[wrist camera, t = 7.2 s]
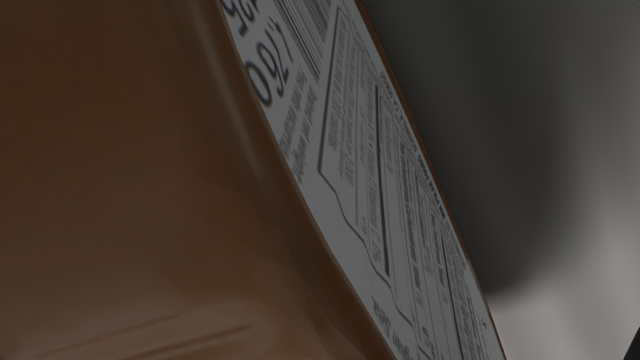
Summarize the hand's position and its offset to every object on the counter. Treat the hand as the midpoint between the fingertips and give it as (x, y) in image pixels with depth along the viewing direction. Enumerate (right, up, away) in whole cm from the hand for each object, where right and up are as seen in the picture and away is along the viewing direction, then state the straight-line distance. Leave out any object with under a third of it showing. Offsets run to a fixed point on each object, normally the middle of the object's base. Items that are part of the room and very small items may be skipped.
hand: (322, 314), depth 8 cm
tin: (+1, +3, +4) cm, 5 cm away
